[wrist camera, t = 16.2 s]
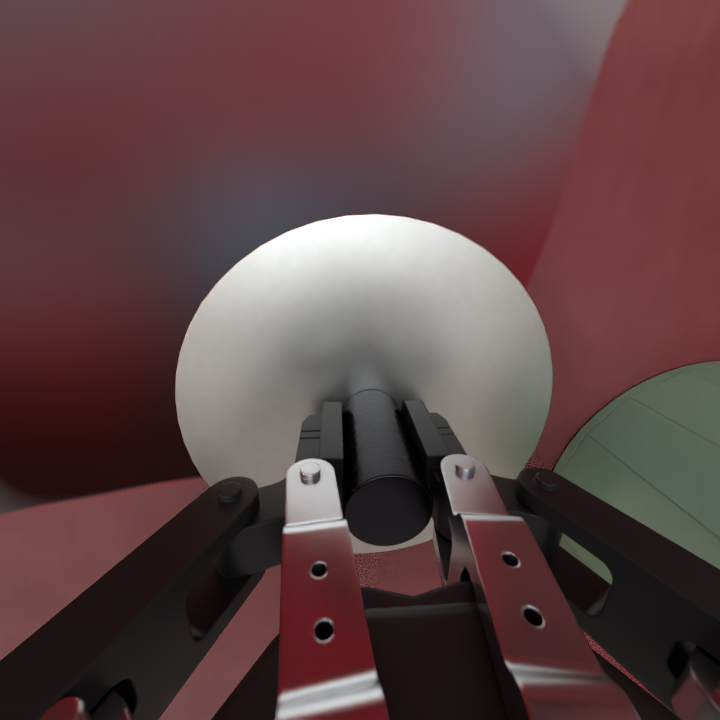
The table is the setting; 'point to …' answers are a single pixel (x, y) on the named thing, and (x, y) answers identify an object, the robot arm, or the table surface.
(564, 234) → the table surface
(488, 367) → the lid
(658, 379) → the tin
